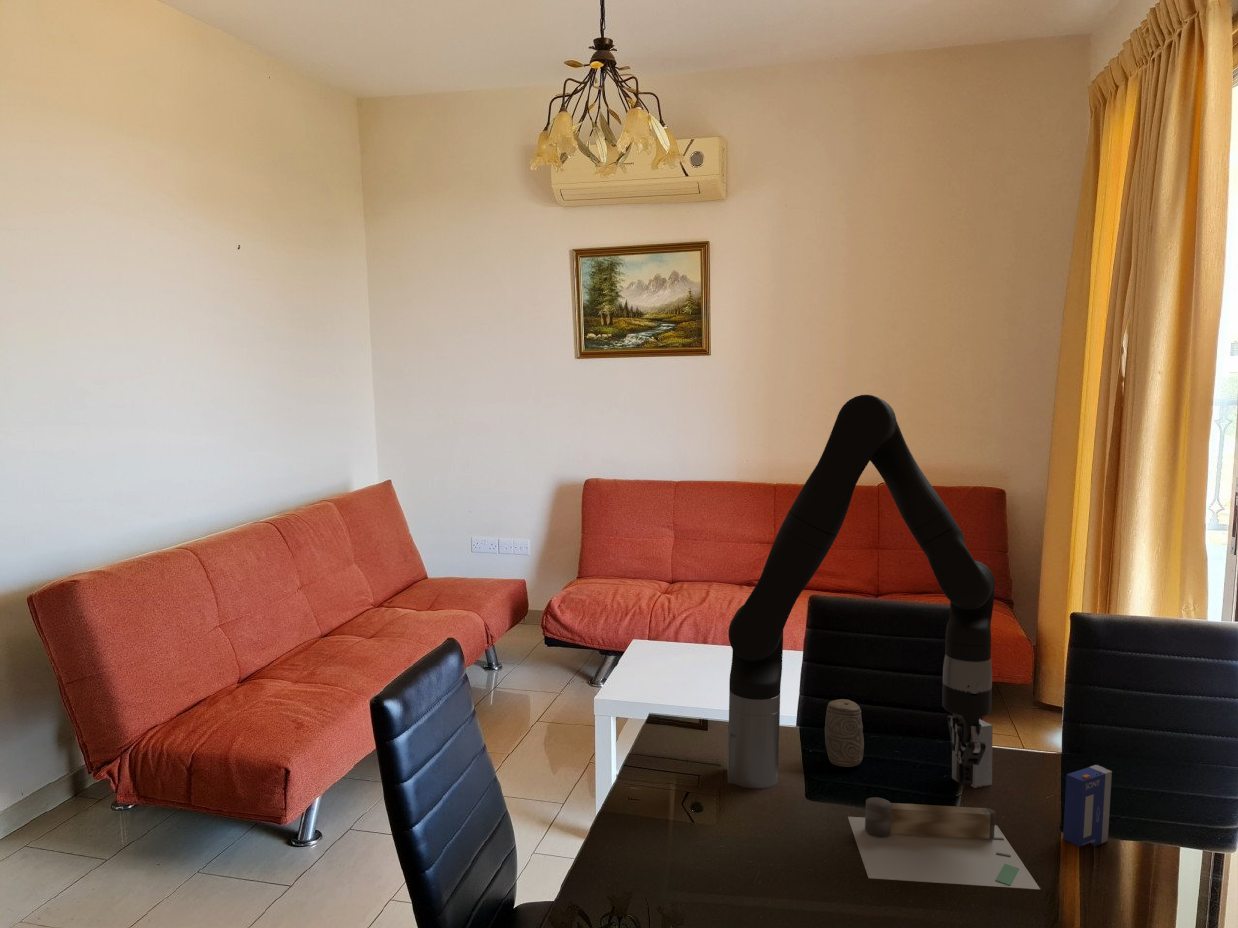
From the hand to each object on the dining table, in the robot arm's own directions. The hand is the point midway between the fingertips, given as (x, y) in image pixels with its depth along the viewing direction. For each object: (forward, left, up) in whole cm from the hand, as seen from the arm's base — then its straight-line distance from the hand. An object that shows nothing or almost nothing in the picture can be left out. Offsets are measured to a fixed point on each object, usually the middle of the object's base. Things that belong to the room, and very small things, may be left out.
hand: (964, 782), depth 140 cm
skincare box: (+6, +14, -7) cm, 17 cm away
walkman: (+18, -5, -7) cm, 19 cm away
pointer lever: (-7, -7, -5) cm, 12 cm away
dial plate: (-7, -12, -7) cm, 15 cm away
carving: (-16, +20, -7) cm, 27 cm away
